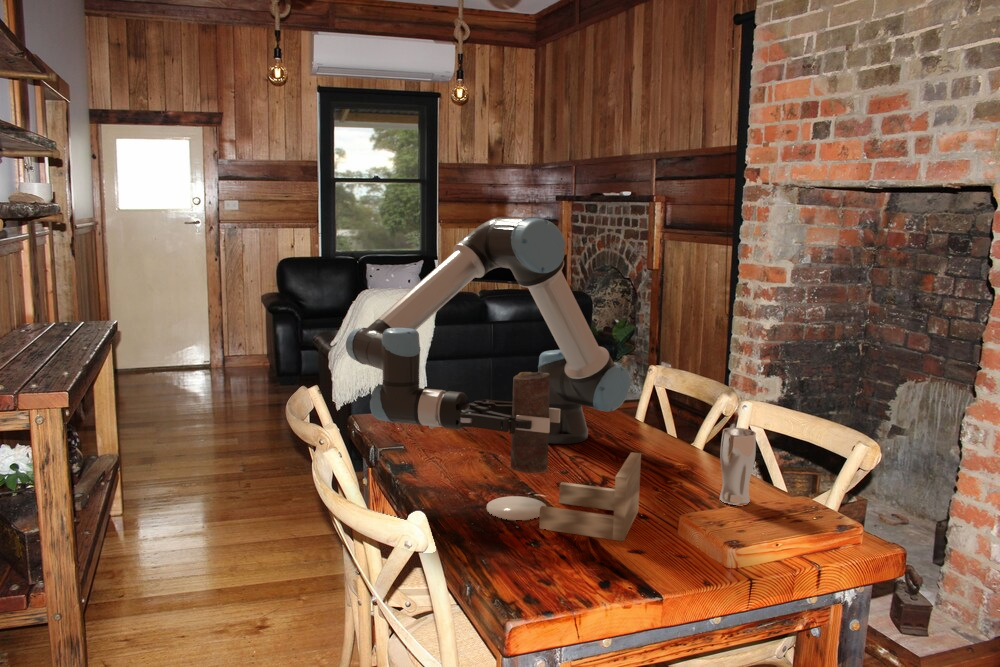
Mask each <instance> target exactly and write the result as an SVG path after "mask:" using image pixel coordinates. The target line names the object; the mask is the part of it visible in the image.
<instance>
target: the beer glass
mask: <svg viewBox="0 0 1000 667" xmlns="http://www.w3.org/2000/svg"><path fill="white" fill-rule="evenodd" d="M756 437H757V432H755V431H754V430H752V429H749V428H743V427H726V428H723V430H722V435H721V440H720V441H721V442H720V449H719V450H720V453H719V454H720V455H719V457H720V468H721V476H722V479H721V480H722V486H721V490H720V495H719V501H720V500H721V501H722V502H724V503H728V504H733V505H742V504H748V503H749V502H750V503H751V500H750V493H749V492H750V490H749V488H750V487H749V486H750V481H751V477H752V473H753V470H754V466H755V460H756V450H757V449H756V448H757V443H756V442H757V440H756ZM721 501H720V502H721ZM722 502H721V503H722ZM724 503H723V504H724ZM750 503H749V504H750Z"/></svg>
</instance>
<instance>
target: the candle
mask: <svg viewBox="0 0 1000 667" xmlns="http://www.w3.org/2000/svg"><path fill="white" fill-rule="evenodd" d="M512 380H513V381H512V402H513V406H512V416H514V417H515V419H516V416H517V415H523V416H532V417H542V418H549V390H550V374H549V373H541V372H538V371H537V372H532V371H521V372H519V373H518V374H516V375H515V376H513V379H512ZM548 465H549V443H548V433H543V432H533V431H524V430H516V428H515V433H514V434H511V441H510V468H511V470H514V471H516V472H521V473H524V474H537V473H538V474H539V473H540V474H544V473H548V471H549V470H548Z"/></svg>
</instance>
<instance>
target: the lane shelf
mask: <svg viewBox="0 0 1000 667" xmlns="http://www.w3.org/2000/svg"><path fill="white" fill-rule="evenodd" d="M641 463H642V453H641V452H640V453H639V452H631V451H630V453H629V455H628V456H627V458H626V459H625V461H624V462H623V464H622V466H621V467H620V468H619V471H618V472H617V473H616V475H615V479H614V480H615V482H614V488H610V487H602V486H595V485H587V484H581V483H579V484H578V483H571V482H564V481H561V482H560V483H559V494H558V495H559V496H558V498H559V499H558V502H559V504H562V505H571V506H577V507H578V506H579V507H584V508H591V509H601V510H607V511H613V515H611V514H603V513H597V512H590V511H582V510H575V509H574V510H573V509H568V508H567V509H566V508H562V507H561V508H560V507H555V506H554V507H553V506H547V505H546V506H541V508H540V517H539V519H538V520H539V524H538V525H539V526H538V527H539V528H538V529H540V530H544V529H546V531H550V532H551V531H552V532H560V533H565V534H572V535H579V536H585V537H591V538H593V537H594V538H598V539H604V540H605V539H606V540H612V541H619V542H625V540H626V537H627V535H628V533H629V532H630V529H631V527H632V525H633V523H634V521H635V519H636V517H637V515H638V513H639V505H640V504H639V503H640V483H641Z"/></svg>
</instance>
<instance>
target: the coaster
mask: <svg viewBox="0 0 1000 667" xmlns="http://www.w3.org/2000/svg"><path fill="white" fill-rule="evenodd" d="M541 506H547V505H546V504H545V503H544V502H543V501H541V500H538V499H537V498H534V497H533V498H532V497H528V496H521V495H520V496H517V495H515V496H514V495H511V496H501V497H497V498H495V499H492V500H490V501H488V503H487V504H486V512H487V513H488V512H489V513H488V514H490V515H491V514H492V515H491V516H493V517H495V516H496V517H495V518H497V517H498V518H497V519H501V518H502V520H506V519H507V520H508V521H516V520H522V521H531V520H535V519H534V518H536V519H539V518H540V508H541ZM538 517H539V518H538ZM530 519H531V520H530ZM507 520H506V521H507Z"/></svg>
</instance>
